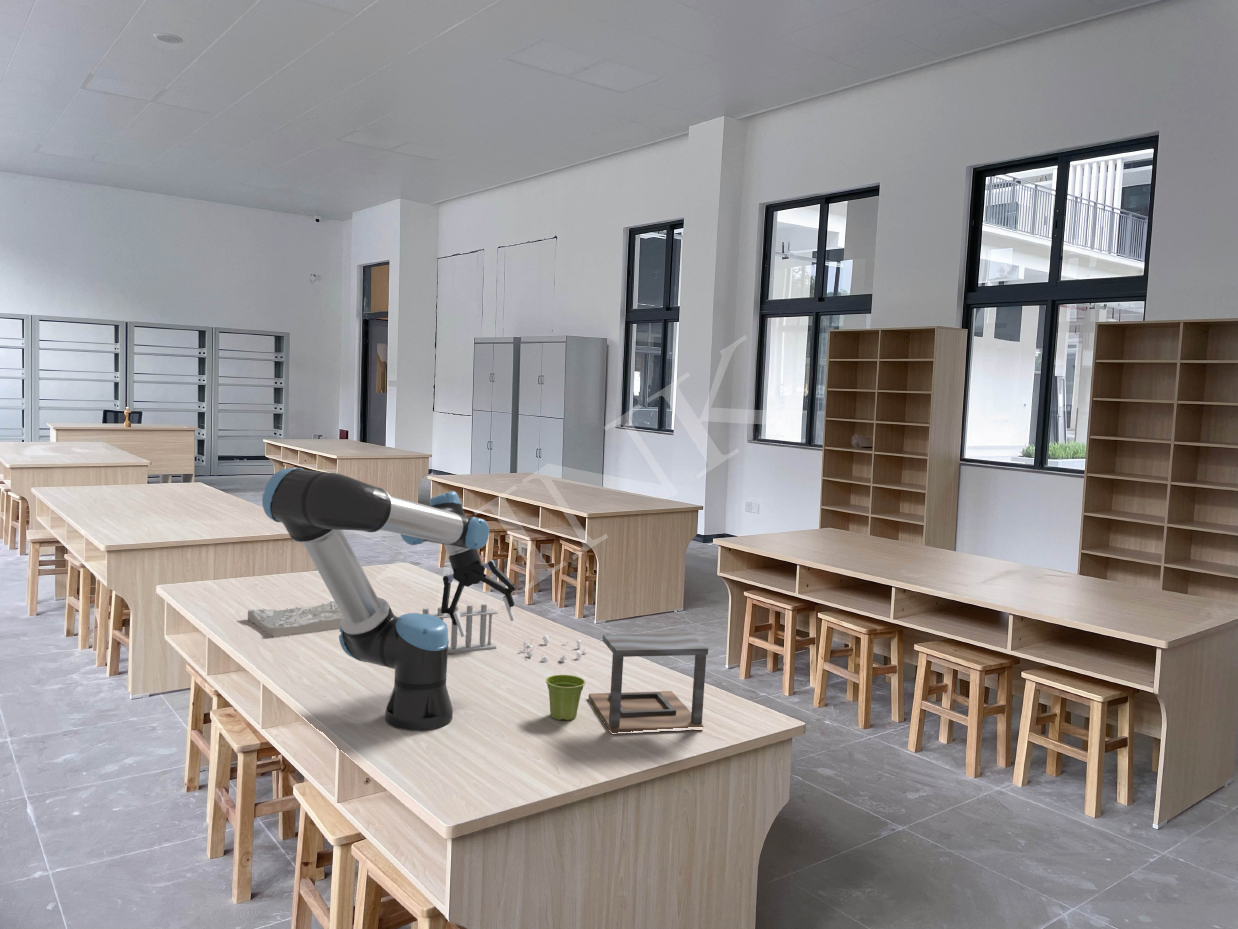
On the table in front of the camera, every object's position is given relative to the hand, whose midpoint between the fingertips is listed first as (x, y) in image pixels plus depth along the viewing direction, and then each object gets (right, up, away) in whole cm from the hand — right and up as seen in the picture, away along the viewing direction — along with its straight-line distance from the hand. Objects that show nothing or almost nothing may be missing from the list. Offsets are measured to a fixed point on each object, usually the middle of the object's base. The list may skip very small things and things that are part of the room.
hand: (488, 627), depth 230 cm
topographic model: (-63, -8, +52) cm, 82 cm away
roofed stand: (+40, -18, -15) cm, 46 cm away
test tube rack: (-14, -12, +29) cm, 34 cm away
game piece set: (+15, -14, +32) cm, 38 cm away
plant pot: (+21, -18, -19) cm, 33 cm away
